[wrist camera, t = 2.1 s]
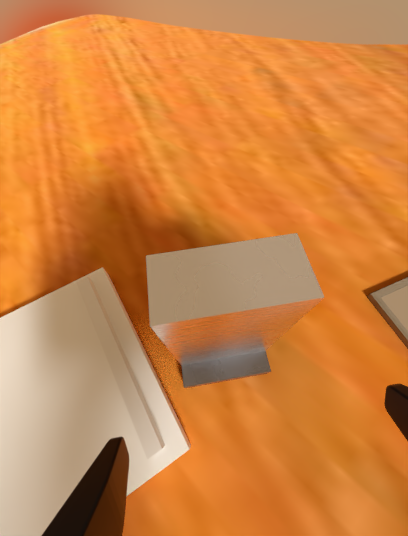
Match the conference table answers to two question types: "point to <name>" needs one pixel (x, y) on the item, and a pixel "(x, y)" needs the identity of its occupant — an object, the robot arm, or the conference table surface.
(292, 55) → the conference table surface
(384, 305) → the grey flat bordered slab
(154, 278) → the tall brushed metal block
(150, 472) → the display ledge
